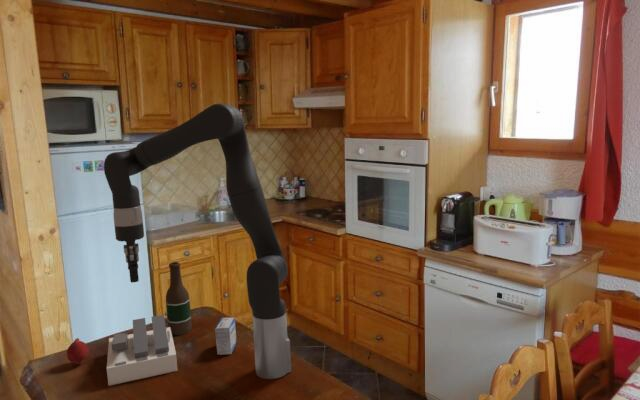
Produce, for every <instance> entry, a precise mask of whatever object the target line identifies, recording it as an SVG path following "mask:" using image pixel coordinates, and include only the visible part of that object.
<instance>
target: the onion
mask: <svg viewBox="0 0 640 400" xmlns="http://www.w3.org/2000/svg"><path fill="white" fill-rule="evenodd" d="M89 354H90V348H89V346H88V344H87V343H86V342H84V341H81V340H80V338H78V337H76V338H75V339H74V340H73V342H72V343H71V344H70V345H69V346H68V348H67V350H66V356H67V360H68V361H70V362H71V363H73V364H76V365H81V364H82V363H83V362H84V361H85V360H86V359H88V356H89Z"/></svg>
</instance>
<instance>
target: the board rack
mask: <svg viewBox="0 0 640 400" xmlns="http://www.w3.org/2000/svg"><path fill="white" fill-rule="evenodd" d="M146 332H147V343H148V353H149V356H144V357H139V358H135V352H134V335H133V333H131V334H130V333H129V334H127V336H128V339H127V347H126V348H123V349H117V350H112V341H113V338H114V336H113V337H109V338H108V348H107V357H106V359H107V361H106V374H107V375H106V376H107V385H108V387H109V386H114V385H118V384H122V383H127V382H132V381H137V380H141V379H146V378H150V377H156V376H159V375H163V374H169V373H173V372H178V369H179V368H178V360H177V353H176V348H175V344H174V343H175V342H174V338H173V335H172V333H171V329H170V327H168V326H166V332H167V339H168V345H169V351H168V352H164V353H159V354H156V351H155V342H154V334H153V329H151V330H146Z"/></svg>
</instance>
